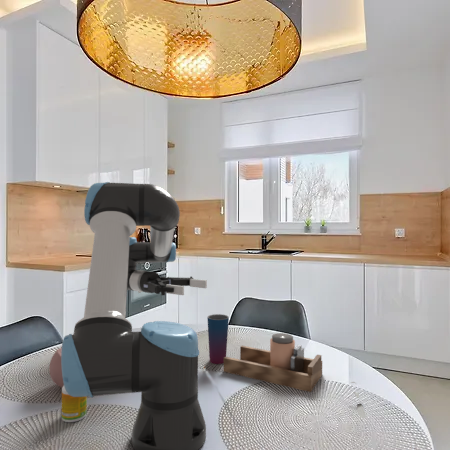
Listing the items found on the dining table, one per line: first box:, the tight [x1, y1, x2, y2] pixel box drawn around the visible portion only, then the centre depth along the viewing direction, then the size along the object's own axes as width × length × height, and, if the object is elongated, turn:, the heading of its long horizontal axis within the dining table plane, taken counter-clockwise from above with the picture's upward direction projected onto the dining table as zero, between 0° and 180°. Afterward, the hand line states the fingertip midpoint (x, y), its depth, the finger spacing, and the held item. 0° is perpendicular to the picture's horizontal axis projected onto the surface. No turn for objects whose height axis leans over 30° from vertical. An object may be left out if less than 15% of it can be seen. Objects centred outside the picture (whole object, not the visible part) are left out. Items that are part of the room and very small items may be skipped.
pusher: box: [291, 344, 305, 373], centre depth 101 cm, size 1×9×9 cm, turn 151°
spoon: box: [350, 381, 367, 419], centre depth 89 cm, size 4×21×2 cm, turn 167°
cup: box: [207, 313, 230, 365], centre depth 113 cm, size 7×7×15 cm
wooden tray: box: [223, 345, 323, 393], centre depth 104 cm, size 26×12×7 cm, turn 61°
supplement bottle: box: [61, 386, 88, 423], centre depth 82 cm, size 5×5×10 cm
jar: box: [269, 332, 296, 370], centre depth 103 cm, size 7×7×11 cm
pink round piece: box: [48, 347, 64, 389], centre depth 97 cm, size 12×12×12 cm
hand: (195, 287), depth 117 cm, fingers open, 13 cm apart
